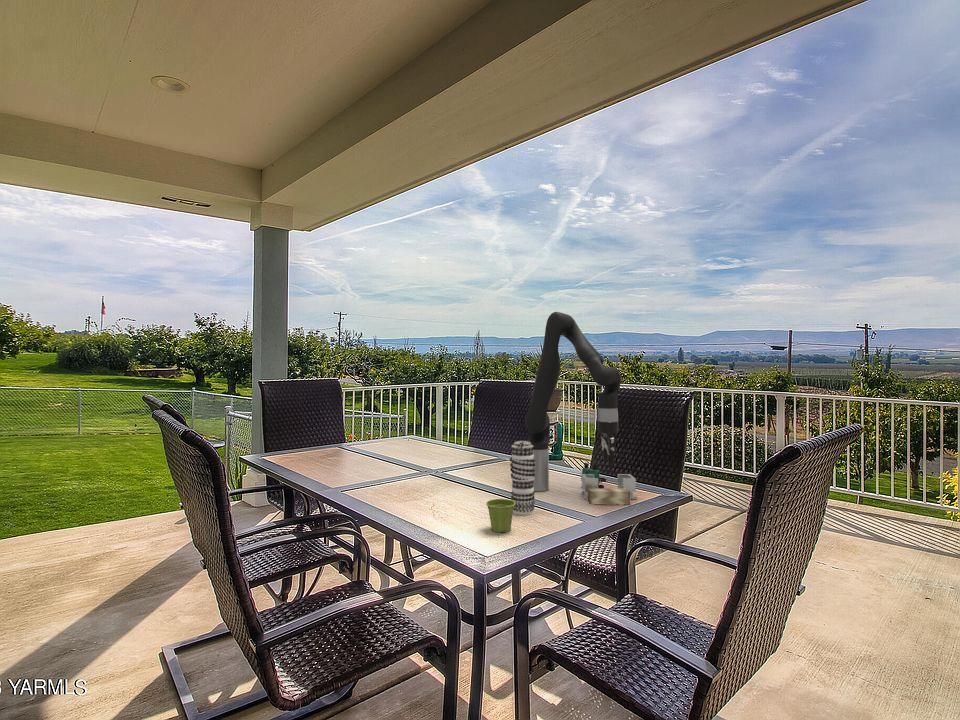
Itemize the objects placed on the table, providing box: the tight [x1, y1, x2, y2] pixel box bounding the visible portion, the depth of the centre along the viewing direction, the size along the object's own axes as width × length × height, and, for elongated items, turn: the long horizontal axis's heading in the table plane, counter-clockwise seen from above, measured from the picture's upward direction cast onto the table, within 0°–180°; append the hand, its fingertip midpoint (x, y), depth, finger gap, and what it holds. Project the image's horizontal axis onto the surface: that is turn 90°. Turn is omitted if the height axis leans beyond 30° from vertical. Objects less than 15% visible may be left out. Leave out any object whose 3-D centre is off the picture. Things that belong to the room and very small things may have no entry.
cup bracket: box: [580, 473, 638, 500], centre depth 197 cm, size 20×8×8 cm, turn 88°
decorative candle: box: [509, 440, 536, 516], centre depth 178 cm, size 9×9×25 cm
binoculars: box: [580, 462, 607, 489], centre depth 211 cm, size 9×11×10 cm
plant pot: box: [485, 498, 516, 533], centre depth 158 cm, size 9×9×9 cm
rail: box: [587, 488, 631, 506], centre depth 187 cm, size 15×4×5 cm, turn 88°
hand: (608, 462), depth 188 cm, fingers open, 8 cm apart
